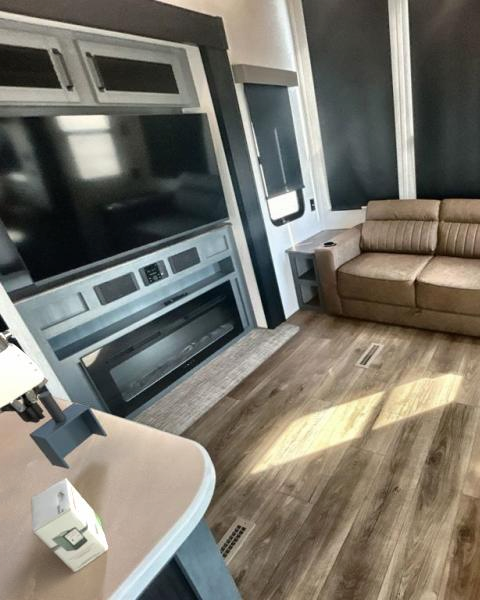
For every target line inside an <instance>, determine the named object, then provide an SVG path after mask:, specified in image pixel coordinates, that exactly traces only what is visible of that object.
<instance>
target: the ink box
mask: <svg viewBox="0 0 480 600" xmlns="http://www.w3.org/2000/svg"><path fill="white" fill-rule="evenodd" d="M30 503H31V504H30V505H31V525H32V526H31V527H32V533H33V534H34V535H36V537H37V538H39V539H40V541H42V542H43V543H44V544H45V545H46V546H47V547H48V548H49V549H50V550H51V551H52V552H53V553H54V554H55V555H56V556H57V557H58V558H59V559H60V560H61V561H62V562H63V563H64V564H65V565H66V566H67V567H68V568H69V569H70V570H71V571H72V572H73V573H76V572H78V571H80V570H81V569H83V568H84V567H85V566H87V565H88V564H90V563H91V562H92V561H94V560H95V559H97V558H98V557H100V556H102V555H103V554H104V553H105V552H107V551H108V549H109V546H108V541H107V539H106V535H105V532H104V529H103V525H102V522H101V518H100V517H99V516H98V515H97V513H96V512H95V511H94V509H93V508H92V507H91V506H90V505H89V503H88V502H87V501H86V500H85V499H84V498H83V496H82V495H81V494H80V493H79V492H78V490H76V488H75V487H74V486H73V484H71V482H70V481H69V480H68V478H67V477H66V478H63V479H61V480H60V481H57V482H56V483H54V484H53V485H51V486H49V487H47V488H45V489H43V490H42V491H40V492H38V493H37V494H35V495H33V496H32V497H30Z"/></svg>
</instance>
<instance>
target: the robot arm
mask: <svg viewBox="0 0 480 600" xmlns="http://www.w3.org/2000/svg"><path fill="white" fill-rule="evenodd" d="M11 337H13V333H11V331H9V330H5V331H3V332H0V415H2V414H3V413H5V412H15V413H16V414H17V415H18V416H19V417H20V418H21V420H22V421H23V422H25V423H35V424H38V423H39V422H41V420H44V419H45V418H46V416H45V415H44V409H43V408H42V407H41V406H40V404H39V403H38V401H39V399H38V396H39V393H40V390H41V389H42V388H43V387H44V386H45V385H47V384H48V382H49V379H47V378H46V377H45V375H44V373H43V371H42V370H41V369H40V367H39V366H38V365H37V364H36V363H35V362H34V361H33V360H32V359H31V358H30V357H29V356H28V354H26V353H25V352H24V351H22V349H20V348H19V347H18V346H17V345H15V344H14V343H11V342H9V339H10V338H11ZM18 398H20V399H21V401H19V400H18Z"/></svg>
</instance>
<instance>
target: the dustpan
mask: <svg viewBox="0 0 480 600" xmlns="http://www.w3.org/2000/svg"><path fill="white" fill-rule="evenodd" d="M37 398H38V401H39V402H40V403H41V404H42V406H43V408H45V410H46V411H47V413H48V415H50V417H51V418H50V419H49V420H47V421H46V422H44V423H43V424H42V425H40V426H39V427H38V428H36V429H35V430H33V431H31V433H29V437H30V438H31V439H32V441H33V442H34V443H35V444H36V446H37V448H39V450H40V451H41V452H42V453H43V455H44V456H45V458H46V459H47V460H48V461H49V463H50V464H51V465H52V466H53V467H55V466H56V467H59V468H62V469H66V470H69V469H70V468H71V467H70V465H69V464H68V463H67V461H66V460H65V458H66V457H67V456H68V455H69V454H70V453H72V452H73V451H74V450H75V449H76V448H78V447H79V446H80V445H81V444H82V443H84V442H85V441H86V440H88V439H89V438H90V437H91V436H93V435H97V436H99V437H100V436H101V437H107V436H108V434H107V433H106V430H105V429H104V428H103V426H102V425H101V422H100V421H99V420H98V418H97V417H96V415H95V413H94V412H93V410H92V408H91V407H90V406H89V405H85V404H81V403H77V402H73V403H71V404H69V405H68V406H67V407H66V408H64V409H63V410H62V408H61V407H60V406H59V404H58V402H57V401H56V400H55V399H54V397H53V395H52V394H51V392H50V391H43V392H41V393H40V394H38V396H37Z"/></svg>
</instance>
